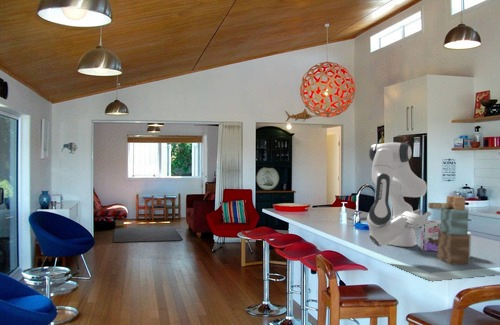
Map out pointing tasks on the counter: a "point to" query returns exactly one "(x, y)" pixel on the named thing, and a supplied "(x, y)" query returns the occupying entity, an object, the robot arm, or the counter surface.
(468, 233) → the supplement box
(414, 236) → the robot arm
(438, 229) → the candy box
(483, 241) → the counter surface
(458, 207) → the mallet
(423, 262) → the counter surface
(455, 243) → the tower
